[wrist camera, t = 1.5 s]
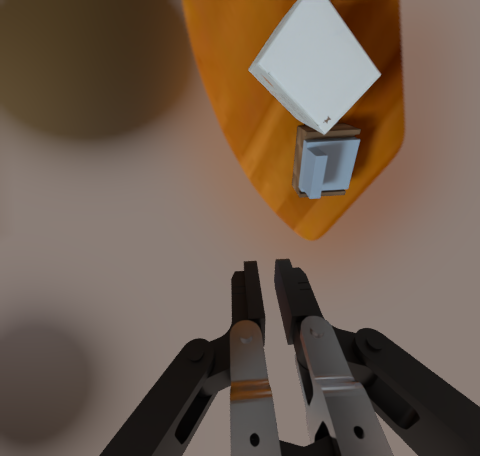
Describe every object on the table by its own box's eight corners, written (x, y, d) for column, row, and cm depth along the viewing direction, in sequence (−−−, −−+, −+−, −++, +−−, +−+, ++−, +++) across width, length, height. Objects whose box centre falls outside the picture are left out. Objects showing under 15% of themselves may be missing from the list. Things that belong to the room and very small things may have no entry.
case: (297, 125, 28) (307, 132, 24) (344, 123, 28) (360, 129, 24) (292, 184, 32) (299, 197, 29) (332, 182, 32) (344, 194, 29)
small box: (330, 77, 25) (385, 75, 16) (295, 119, 27) (326, 137, 19) (282, 16, 22) (317, -26, 13) (246, 69, 24) (256, 63, 16)
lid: (303, 139, 26) (317, 150, 22) (354, 137, 26) (376, 146, 22) (298, 187, 29) (309, 203, 25) (343, 184, 29) (360, 200, 25)
